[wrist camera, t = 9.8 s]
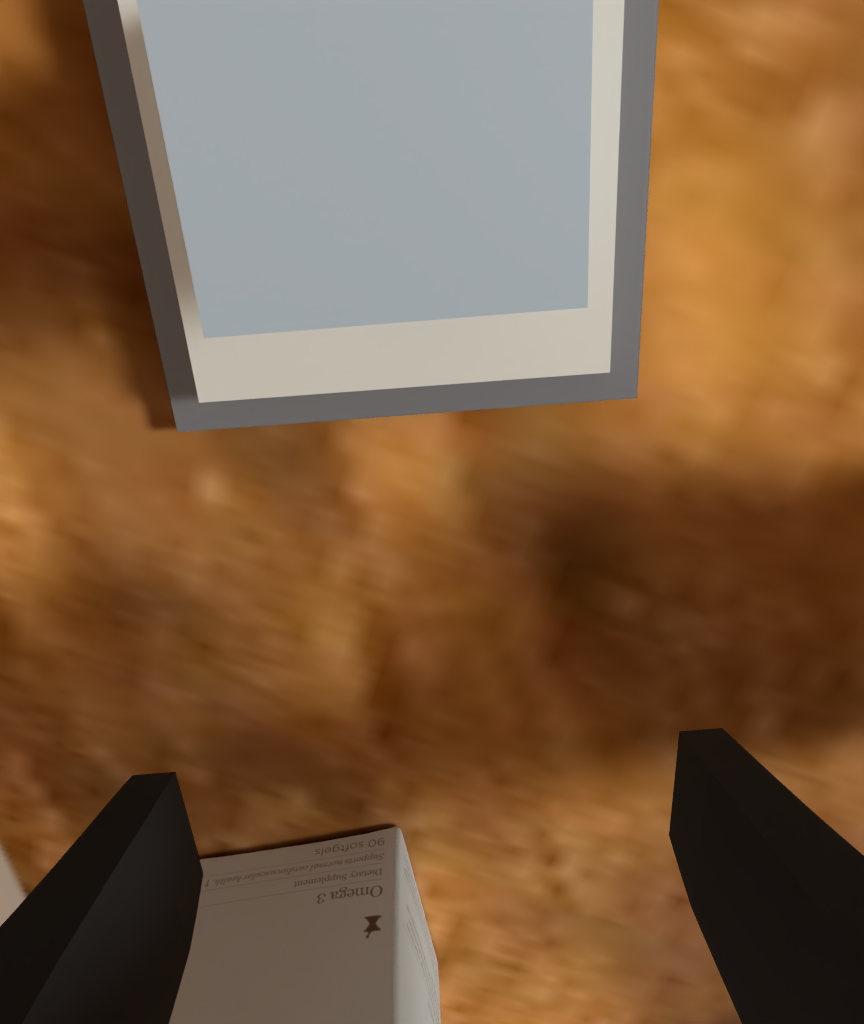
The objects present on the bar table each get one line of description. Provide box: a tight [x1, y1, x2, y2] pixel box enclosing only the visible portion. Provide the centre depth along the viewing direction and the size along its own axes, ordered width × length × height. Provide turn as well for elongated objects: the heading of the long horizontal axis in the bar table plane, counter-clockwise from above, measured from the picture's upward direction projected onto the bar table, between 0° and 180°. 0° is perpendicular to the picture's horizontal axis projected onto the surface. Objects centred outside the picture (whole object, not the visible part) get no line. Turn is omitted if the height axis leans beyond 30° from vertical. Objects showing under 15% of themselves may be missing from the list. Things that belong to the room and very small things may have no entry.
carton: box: [136, 0, 593, 338], centre depth 10 cm, size 4×4×8 cm
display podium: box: [83, 0, 659, 432], centre depth 15 cm, size 12×11×2 cm
